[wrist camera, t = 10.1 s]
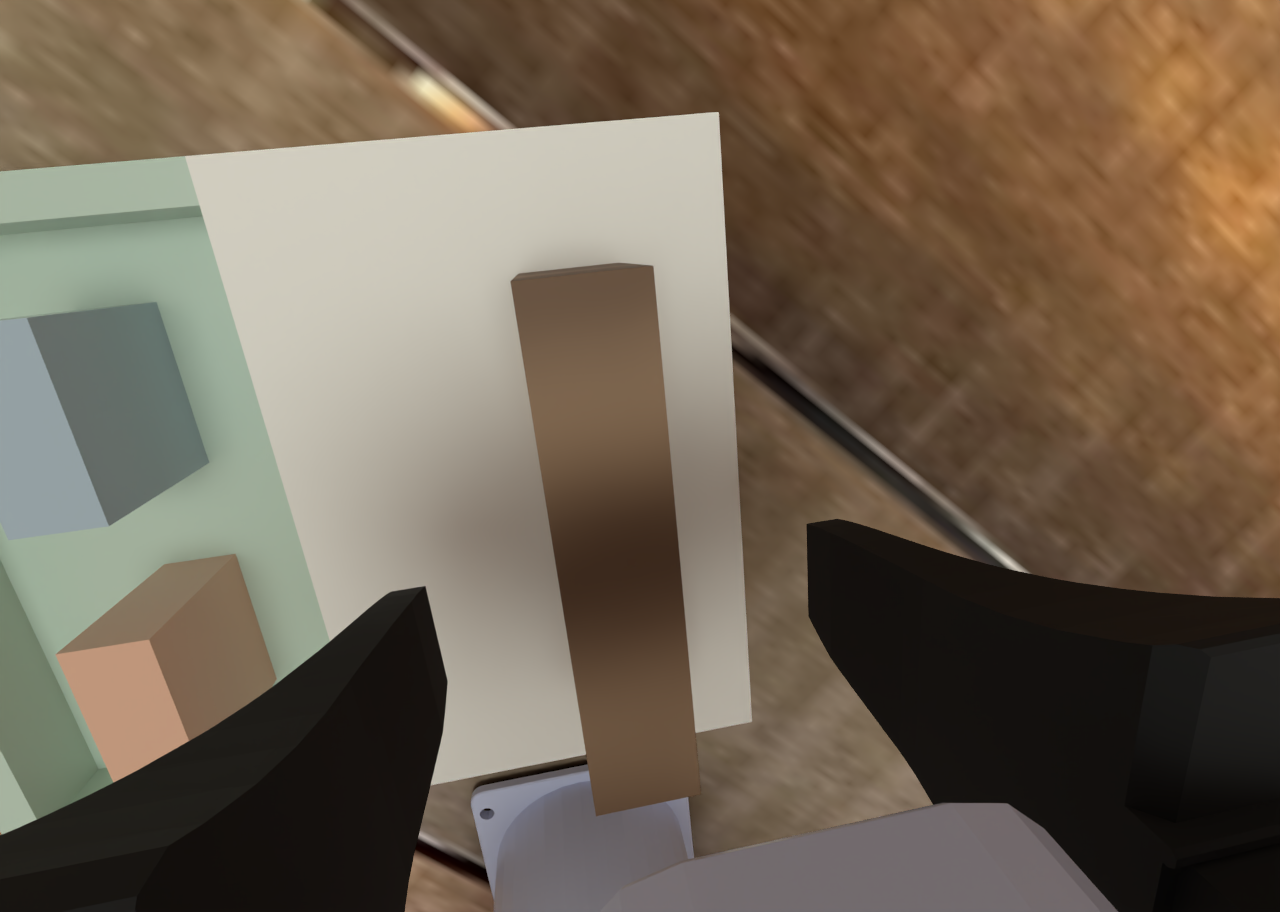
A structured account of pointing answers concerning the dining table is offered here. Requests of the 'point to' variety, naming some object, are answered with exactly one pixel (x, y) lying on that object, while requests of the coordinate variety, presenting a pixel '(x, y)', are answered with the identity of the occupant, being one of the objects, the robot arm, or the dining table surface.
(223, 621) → the tile
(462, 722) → the bench
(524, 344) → the bar
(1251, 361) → the dining table surface
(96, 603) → the tray
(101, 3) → the dining table surface
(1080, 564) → the dining table surface
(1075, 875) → the robot arm
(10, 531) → the tile
